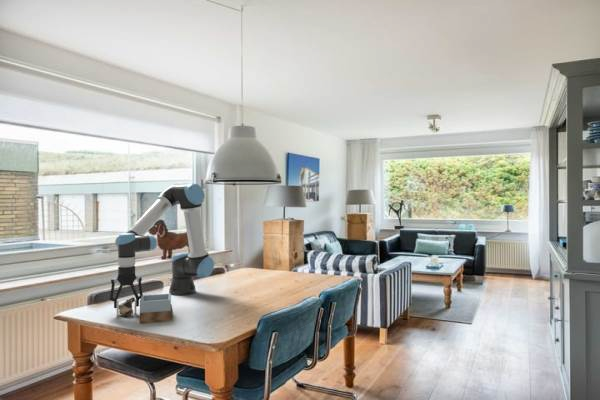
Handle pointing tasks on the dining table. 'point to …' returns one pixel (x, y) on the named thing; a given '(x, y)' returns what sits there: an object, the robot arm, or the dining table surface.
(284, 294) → the dining table surface
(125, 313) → the rock
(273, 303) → the dining table surface
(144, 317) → the tower base
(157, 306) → the tower top
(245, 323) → the dining table surface
